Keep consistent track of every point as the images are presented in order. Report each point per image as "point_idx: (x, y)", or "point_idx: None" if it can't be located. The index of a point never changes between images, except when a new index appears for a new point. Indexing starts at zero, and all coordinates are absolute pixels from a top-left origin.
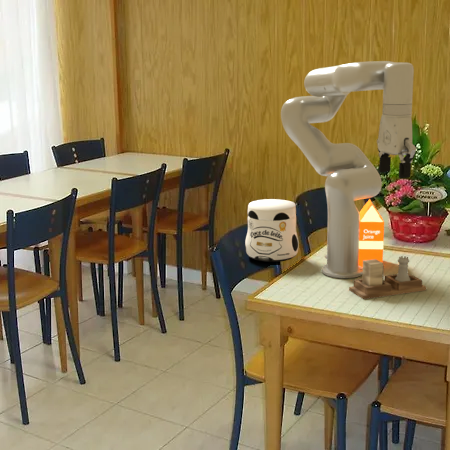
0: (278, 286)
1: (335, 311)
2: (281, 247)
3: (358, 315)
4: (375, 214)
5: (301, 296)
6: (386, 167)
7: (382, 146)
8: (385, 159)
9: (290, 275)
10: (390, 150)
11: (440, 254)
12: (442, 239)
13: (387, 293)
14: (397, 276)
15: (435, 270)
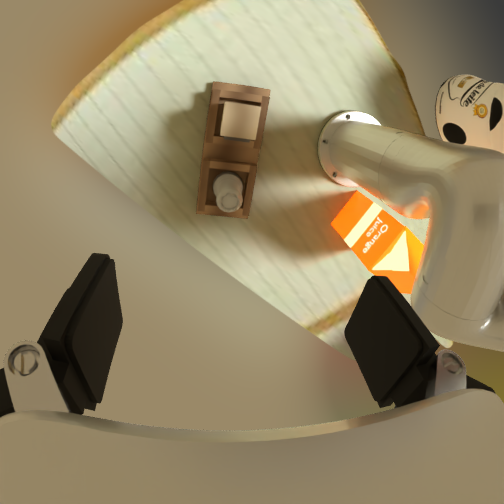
0: (351, 14)
1: (191, 12)
2: (450, 99)
3: (154, 35)
4: (392, 266)
5: (288, 7)
6: (363, 329)
7: (452, 467)
8: (394, 367)
9: (387, 67)
10: (155, 493)
11: (317, 329)
12: (353, 357)
13: (205, 132)
14: (231, 178)
15: (268, 285)
